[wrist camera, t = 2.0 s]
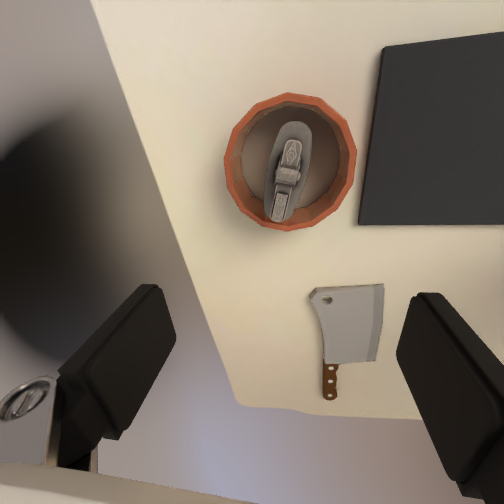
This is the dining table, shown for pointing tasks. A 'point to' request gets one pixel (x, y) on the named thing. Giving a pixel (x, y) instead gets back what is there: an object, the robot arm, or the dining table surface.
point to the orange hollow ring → (321, 206)
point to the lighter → (287, 170)
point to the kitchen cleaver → (348, 327)
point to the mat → (437, 135)
